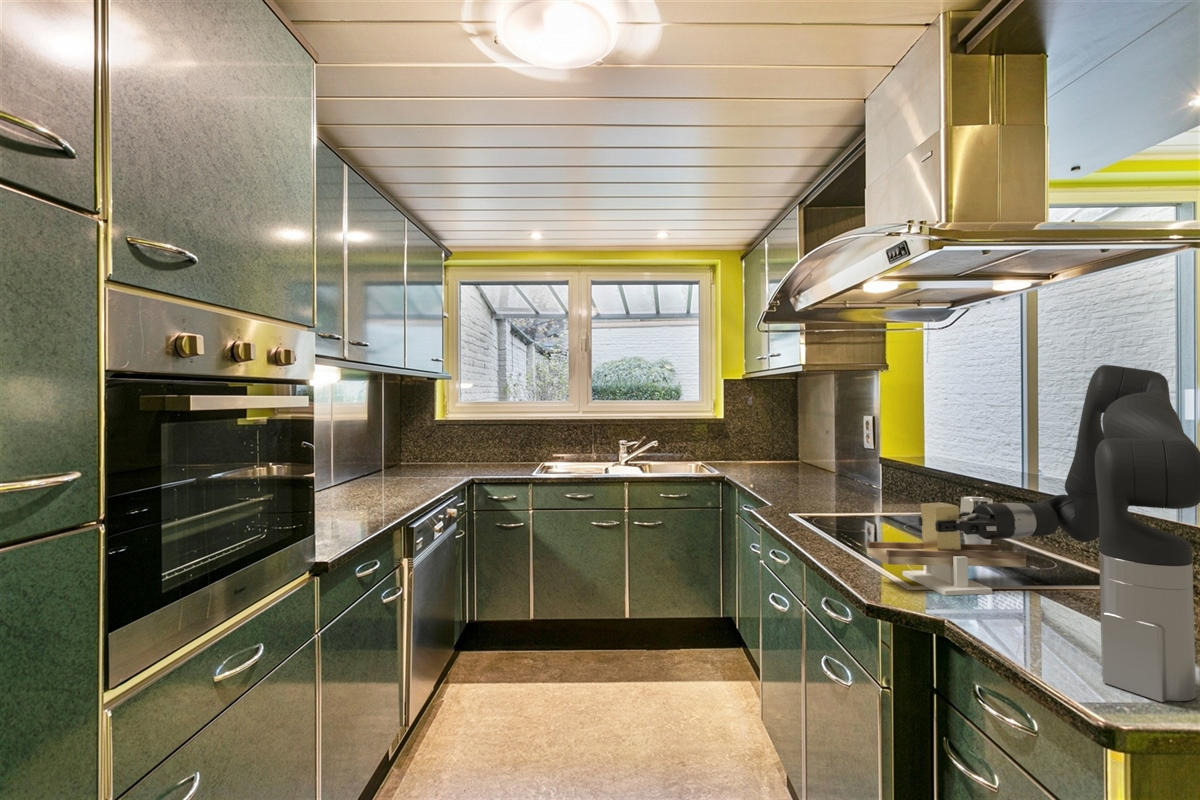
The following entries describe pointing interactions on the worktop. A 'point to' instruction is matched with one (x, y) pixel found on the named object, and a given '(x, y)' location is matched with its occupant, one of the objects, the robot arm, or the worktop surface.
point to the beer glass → (969, 505)
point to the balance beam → (943, 555)
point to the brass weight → (929, 533)
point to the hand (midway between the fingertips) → (928, 524)
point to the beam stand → (948, 578)
